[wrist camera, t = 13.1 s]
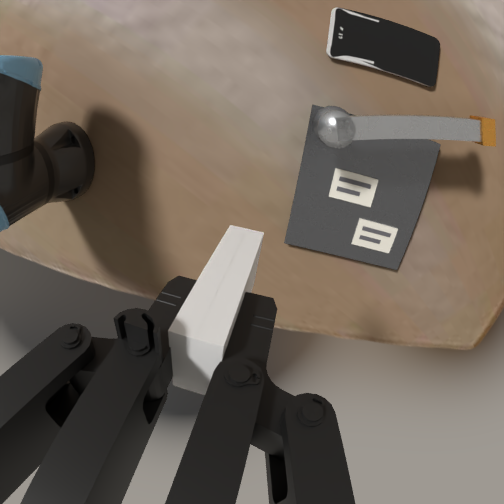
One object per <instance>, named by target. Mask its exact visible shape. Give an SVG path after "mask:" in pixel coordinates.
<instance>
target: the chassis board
mask: <svg viewBox="0 0 504 504" xmlns="http://www.w3.org/2000/svg"><path fill="white" fill-rule="evenodd" d="M332 110H336V111H341V112H344V113H346V114H347V115H349V116H356V115H352V114H349V113H347V112H346V111H345V110H344V109H342V108H340V107H337V106H327V107H320V106H315V105H312V110H311V115H310V121H309V126H308V131H307V136H306V141H305V147H304V152H303V157H302V162H301V167H300V172H299V176H298V181H297V186H296V191H295V196H294V200H293V205H292V210H291V215H290V219H289V224H288V228H287V233H286V237H285V242H284V243H286V244H291V245H295V246H299V247H304V248H308V249H312V250H316V251H321V252H325V253H329V254H333V255H337V256H342V257H346V258H350V259H354V260H358V261H362V262H366V263H370V264H374V265H379V266H383V267H387V268H391V269H395V270H397V269H398V266H399V264H400V262H401V259H402V257H403V255H404V252H405V250H406V247H407V245H408V243H409V240H410V237H411V235H412V232H413V230H414V227H415V224H416V222H417V219H418V216H419V213H420V211H421V208H422V205H423V202H424V199H425V196H426V193H427V190H428V187H429V184H430V180H431V177H432V174H433V170H434V167H435V163H436V160H437V156H438V152H439V149H440V145H441V144H438V143H436V142H433V141H431V140H428V139H372V140H353V141H352V142H351V143H350V144H349V145H348V146H346V147H343V148H333V147H330V146H328V145H326V144H325V143H324V142H323V141H322V140H321V139H320V137H319V134H318V128H317V125H318V121H319V119H320V117H321V116H322V115H323V114H324V113H326V112H328V111H332ZM335 168H338V169H342V170H346V171H350V172H353V173H357V174H361V175H364V176H368V177H371V178H375V179H378V184H377V187H376V191H375V194H374V198H373V201H372V204H371V207H367V206H363V205H360V204H356V203H352V202H348V201H344V200H341V199H337V198H333V197H329V192H330V188H331V184H332V180H333V176H334V172H335ZM359 218H361V219H365V220H369V221H373V222H376V223H380V224H383V225H387V226H391V227H394V228H398V231H397V234H396V236H395V239H394V242H393V244H392V247H391V249H390V252H389V253H385V252H381V251H377V250H374V249H370V248H366V247H362V246H358V245H354V244H352V240H353V237H354V234H355V231H356V227H357V224H358V221H359Z"/></svg>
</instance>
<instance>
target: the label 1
mask: <svg viewBox="0 0 504 504" xmlns="http://www.w3.org/2000/svg"><path fill="white" fill-rule="evenodd" d="M377 184H378V179H375V178H371V177H368V176H364V175H361V174H357V173H353V172H350V171H346V170H342V169H338V168H335V172H334V176H333V180H332V184H331V188H330V192H329V197H333V198H337V199H341V200H344V201H348V202H352V203H356V204H360V205H363V206H367V207H371V204H372V201H373V198H374V194H375V191H376V187H377Z"/></svg>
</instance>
